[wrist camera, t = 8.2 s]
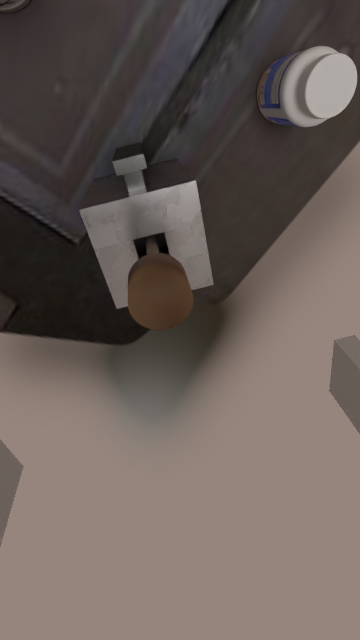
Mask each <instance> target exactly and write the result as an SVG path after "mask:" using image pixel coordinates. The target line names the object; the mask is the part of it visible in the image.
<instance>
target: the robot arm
mask: <svg viewBox="0 0 360 640" xmlns="http://www.w3.org/2000/svg"><path fill="white" fill-rule="evenodd" d="M329 391H330V392H331V394H332V395H333V396H334V398H335V399H336V400H337V402H338V404H339V405H340V407H341V408H342V409H343V411H344V412H345V414H346V415H347V416H348V418H349V419H350V421H351V422H352V423H353V425H354V426H355V428H356V429H357V431H358V432H359V433H360V340H359V339H358V338H357V337H356V336H355V335H353V336H349V337H345V338H341V339H337V340H334V348H333V358H332V369H331V380H330V390H329ZM22 469H23V465H22V464H21V463H20V462H19V461H18V460H17V458H16V457H15V456H14V455H13V454H12V453H11V452H10V450H9V449H8V448H7V447H6V445H5V444H4V443H3V442H2V441H1V440H0V546H1V542H2V538H3V535H4V532H5V528H6V525H7V521H8V518H9V514H10V511H11V508H12V504H13V501H14V497H15V494H16V490H17V487H18V483H19V480H20V476H21V473H22Z"/></svg>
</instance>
